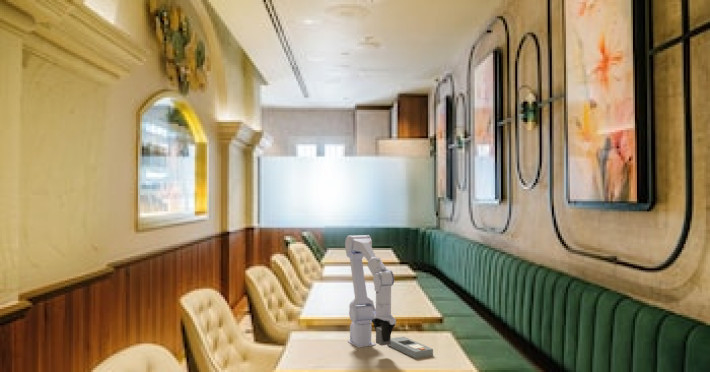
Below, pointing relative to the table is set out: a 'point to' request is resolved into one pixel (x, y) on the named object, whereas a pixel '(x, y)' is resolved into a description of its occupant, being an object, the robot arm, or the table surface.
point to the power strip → (411, 347)
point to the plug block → (381, 337)
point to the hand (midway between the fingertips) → (383, 339)
